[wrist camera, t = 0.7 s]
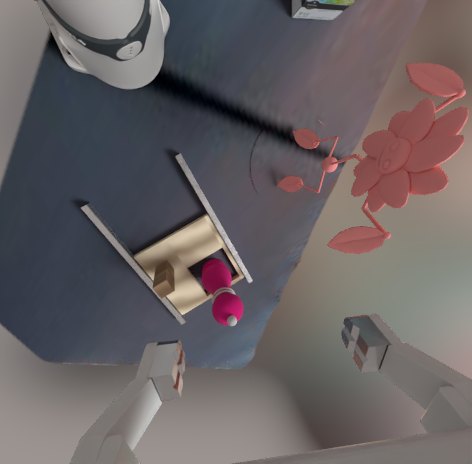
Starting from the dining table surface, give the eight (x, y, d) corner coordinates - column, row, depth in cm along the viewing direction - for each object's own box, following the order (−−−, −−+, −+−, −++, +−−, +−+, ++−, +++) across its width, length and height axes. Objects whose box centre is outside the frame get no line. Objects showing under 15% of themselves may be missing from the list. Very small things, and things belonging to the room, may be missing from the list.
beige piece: (134, 254, 49) (125, 278, 39) (207, 213, 50) (215, 226, 41) (181, 311, 57) (183, 342, 48) (242, 274, 59) (256, 297, 49)
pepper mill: (201, 284, 56) (216, 345, 38) (197, 260, 54) (210, 313, 35) (228, 277, 58) (254, 333, 40) (225, 254, 55) (251, 302, 37)
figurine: (327, 112, 50) (587, 35, 18) (287, 215, 57) (430, 291, 25) (270, 83, 45) (493, -93, 13) (234, 200, 52) (326, 269, 20)
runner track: (84, 205, 43) (80, 207, 41) (180, 153, 45) (180, 153, 43) (181, 318, 58) (181, 324, 56) (250, 276, 60) (252, 280, 58)
